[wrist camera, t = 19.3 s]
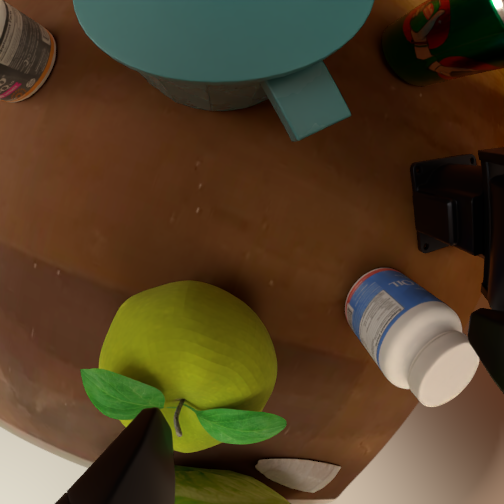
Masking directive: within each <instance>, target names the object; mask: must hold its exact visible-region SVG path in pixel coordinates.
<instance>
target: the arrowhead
mask: <svg viewBox="0 0 504 504" xmlns="http://www.w3.org/2000/svg"><path fill="white" fill-rule="evenodd" d="M255 467H256V469H257V470H259V471H260V473H262V474H264V475H265V477H267V478H268V479H271V480H272V481H274V482H277V483H279V484H281V485H284V486H286V487H289V488H291V489H297V490H300V491H304V492H312V493H315V492H316V491H318V490H320V489H322V488H323V487H325V486H326V485H327V484H328V483H329V482H330V481H332V479H333V478H334V477H335V476H336V474H337V473H338V472H339V470H340V468H341V467H340V466H336V465H333V464H328V463H322V462H317V461H311V460H300V459H263V460H259V461H258V464H257V465H256V466H255Z"/></svg>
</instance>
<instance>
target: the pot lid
mask: <svg viewBox="0 0 504 504" xmlns="http://www.w3.org/2000/svg"><path fill="white" fill-rule="evenodd" d="M373 3H374V0H73V4H74V10H75V13H76V16H77V18H78V21H79V23H80V25H81V26H82V28H83V30H84V31H85V33H86V35H87V36H88V37H89V38H90V39H91V40H92V41H93V42H94V43H95V44H96V45H97V47H99V48H100V49H101V50H102V51H104V52H105V53H106V54H107V55H109V56H110V57H111V58H113V59H114V60H116V61H118V62H119V63H121V64H123V65H125V66H127V67H128V68H130V69H133V70H136V71H138V72H141V73H143V74H146V75H148V76H152V77H156V78H160V79H164V80H168V81H173V82H180V83H187V84H196V85H239V84H246V83H254V82H262V81H266V80H270V79H274V78H279V77H283V76H286V75H289V74H292V73H295V72H298V71H301V70H304V69H306V68H308V67H310V66H312V65H314V64H316V63H318V62H321V61H322V60H324V59H325V58H327V57H329V56H330V55H332V54H333V53H335V52H336V51H338V50H339V49H340V48H341V47H342V46H343V45H345V44H346V43H347V42H348V41H349V40H350V39H352V38H353V37H354V36H355V34H356V33H357V32H358V31H359V30H360V28H361V27H362V26H363V25H364V23H365V21H366V19H367V18H368V16H369V14H370V12H371V9H372V6H373Z"/></svg>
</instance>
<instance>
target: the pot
mask: <svg viewBox="0 0 504 504" xmlns="http://www.w3.org/2000/svg"><path fill="white" fill-rule="evenodd" d="M139 73H140V74H141V75H142V76H143V77H144V78H145V79H146V80H147V81H148V82H149V83H150V84H151V85H152V86H154V87H155V88H157V89H158V90H159V91H161V92H162V93H163V94H164V95H166V96H167V97H169V98H171V99H172V100H173V101H175V102H177V103H180V104H183V105H186V106H189V107H192V108H196V109H202V110H209V111H230V110H236V109H242V108H247V107H251V106H253V105H256V104H258V103H261V102H263V101H265V100H267V99H269V100H270V102H271V104H272V105H273V107H274V109H275V111H276V113H277V114H278V116H279V118H280V120H281V122H282V124H283V125H284V127H285V129H286V131H287V133H288V135H289V137H290V138H291V140H292V141H293V142H295V141H299V140H302V139H304V138H306V137H308V136H310V135H312V134H314V133H316V132H318V131H320V130H322V129H325V128H327V127H329V126H331V125H333V124H335V123H337V122H340V121H342V120H344V119H346V118H348V117H350V116H351V112H350V110H349V108H348V106H347V104H346V102H345V100H344V99H343V97H342V95H341V93H340V91H339V89H338V87H337V85H336V84H335V82H334V80H333V78H332V76H331V75H330V73H329V71H328V69H327V67H326V66H325V64H324V62H323V61H321V62H318V63H316V64H314V65H312V66H310V67H308V68H306V69H304V70H301V71H298V72H295V73H292V74H289V75H286V76H283V77H279V78H274V79H270V80H266V81H262V82H254V83H246V84H239V85H196V84H187V83H180V82H173V81H168V80H164V79H160V78H156V77H152V76H148V75H146V74H143V73H141V72H139Z"/></svg>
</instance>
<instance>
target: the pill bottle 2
mask: <svg viewBox="0 0 504 504" xmlns="http://www.w3.org/2000/svg"><path fill="white" fill-rule="evenodd" d="M345 315H346V319H347V322H348V324H349V325H350V327H351V328H352V330H353V332H354V333H355V334H356V336H357V337H358V338H359V340H360V341H361V343H362V344H363V345H364V347H365V348H366V350H367V351H368V352H369V354H370V355H371V357H372V358H373V359H374V361H375V362H376V364H377V365H378V366H379V368H380V369H381V371H382V372H383V374H384V375H385V376H386V378H387V379H388V380H389V381H390V382H391V383H392V384H394V385H395V386H397V387H400V388H404V389H410V390H411V391H412V393H413V394H414V395H415V396H416V397H417V399H418V400H419V401H420V402H421V403H422V404H423V405H425V406H428V407H435V406H439V405H442V404H444V403H446V402H448V401H450V400H451V399H453V398H454V397H456V396H457V395H458V394H459V393H460V392H461V391H462V390H463V389H464V388H465V387H466V386H467V385H468V383H469V382H470V381H471V379H472V377H473V376H474V374H475V372H476V369H477V367H478V364H479V357H478V356H477V354H476V352H475V351H474V349H473V348H472V346H471V345H470V343H469V341H468V337H467V336H466V335H465V334H464V333H462V326H461V322H460V319H459V317H458V315H457V314H456V313H455V311H453V310H452V309H451V308H450V307H449V306H448V305H447V304H445V303H444V302H442V301H441V300H439V299H438V298H436V297H435V296H434V295H432V294H431V293H429V292H428V291H426V290H425V289H424V288H422V287H421V286H419V285H418V284H417V283H415V282H414V281H412V280H411V279H409V278H408V277H407V276H405V275H404V274H402V273H401V272H399V271H397V270H395V269H392V268H378V269H374V270H372V271H370V272H368V273H366V274H364V275H363V276H362V277H361V278H359V279H358V280H357V282H356V283H355V284H354V285H353V287H352V288H351V290H350V291H349V293H348V296H347V299H346V303H345Z"/></svg>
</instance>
